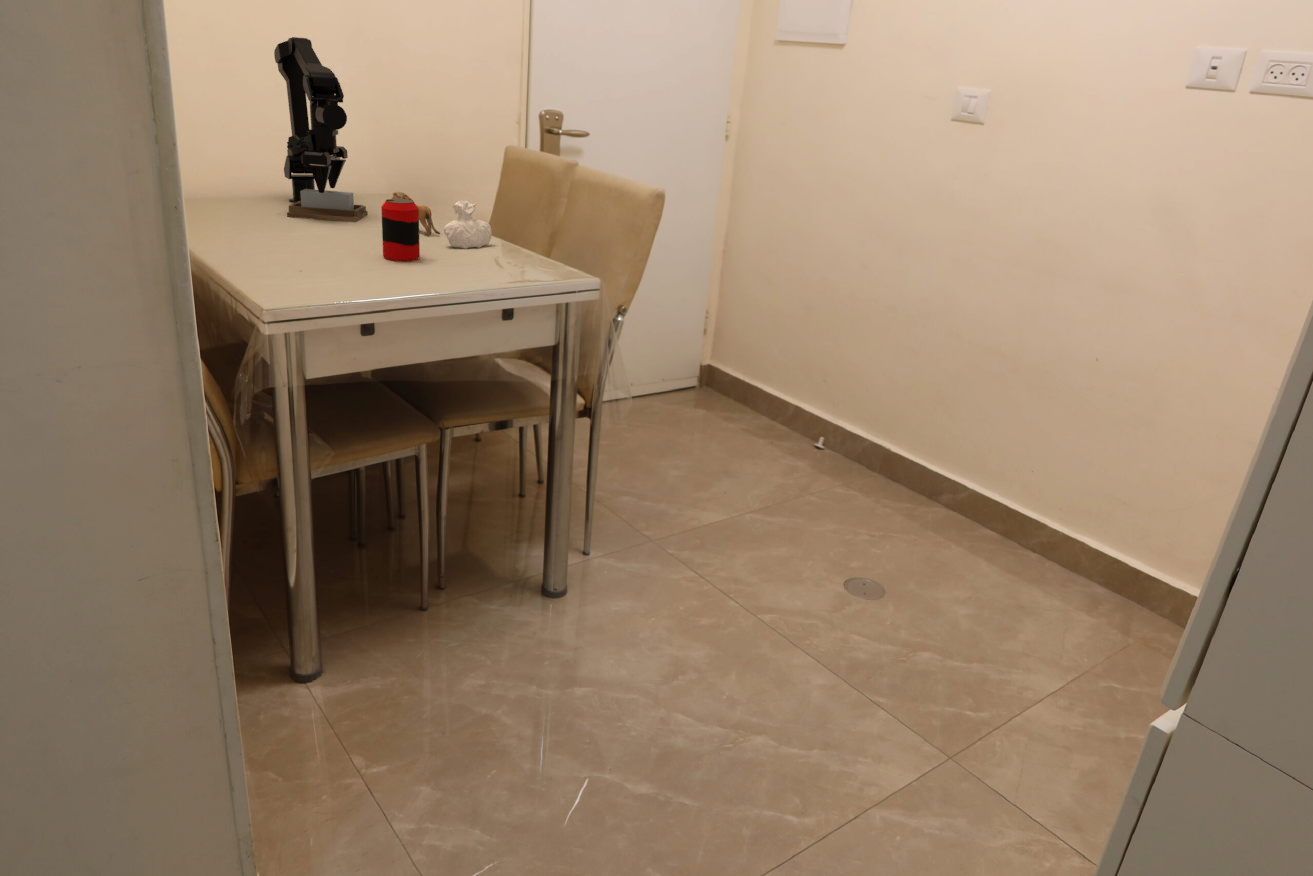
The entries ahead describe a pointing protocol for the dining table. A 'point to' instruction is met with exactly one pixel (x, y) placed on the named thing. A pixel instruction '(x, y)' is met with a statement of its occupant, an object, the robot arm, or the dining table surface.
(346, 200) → the grey block
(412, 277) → the dining table surface
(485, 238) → the white tied bag
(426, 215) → the lion figurine
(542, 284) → the dining table surface
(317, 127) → the robot arm
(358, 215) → the brown wooden tray
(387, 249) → the soda can
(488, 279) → the dining table surface
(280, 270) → the dining table surface
